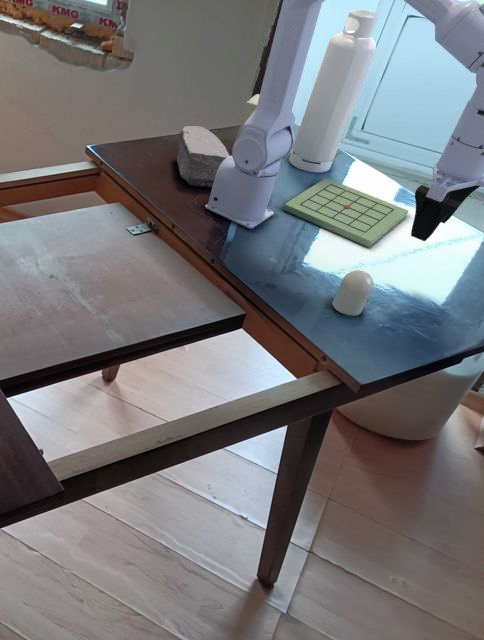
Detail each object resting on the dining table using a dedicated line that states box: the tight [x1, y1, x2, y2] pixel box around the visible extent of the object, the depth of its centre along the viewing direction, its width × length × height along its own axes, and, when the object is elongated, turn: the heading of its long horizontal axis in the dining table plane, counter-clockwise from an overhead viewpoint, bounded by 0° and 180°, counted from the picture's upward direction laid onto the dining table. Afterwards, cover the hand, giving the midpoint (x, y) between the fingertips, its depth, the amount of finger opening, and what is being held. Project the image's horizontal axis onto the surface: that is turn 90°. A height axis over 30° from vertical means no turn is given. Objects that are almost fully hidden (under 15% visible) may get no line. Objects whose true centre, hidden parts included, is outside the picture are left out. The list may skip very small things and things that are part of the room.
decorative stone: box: [176, 125, 230, 189], centre depth 129 cm, size 15×7×10 cm
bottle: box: [288, 9, 379, 173], centre depth 128 cm, size 8×8×28 cm
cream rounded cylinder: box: [331, 269, 375, 317], centre depth 99 cm, size 4×4×6 cm
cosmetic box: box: [235, 93, 260, 141], centre depth 133 cm, size 6×4×12 cm
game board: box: [282, 177, 409, 248], centre depth 122 cm, size 16×16×1 cm
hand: (428, 228), depth 100 cm, fingers open, 7 cm apart
